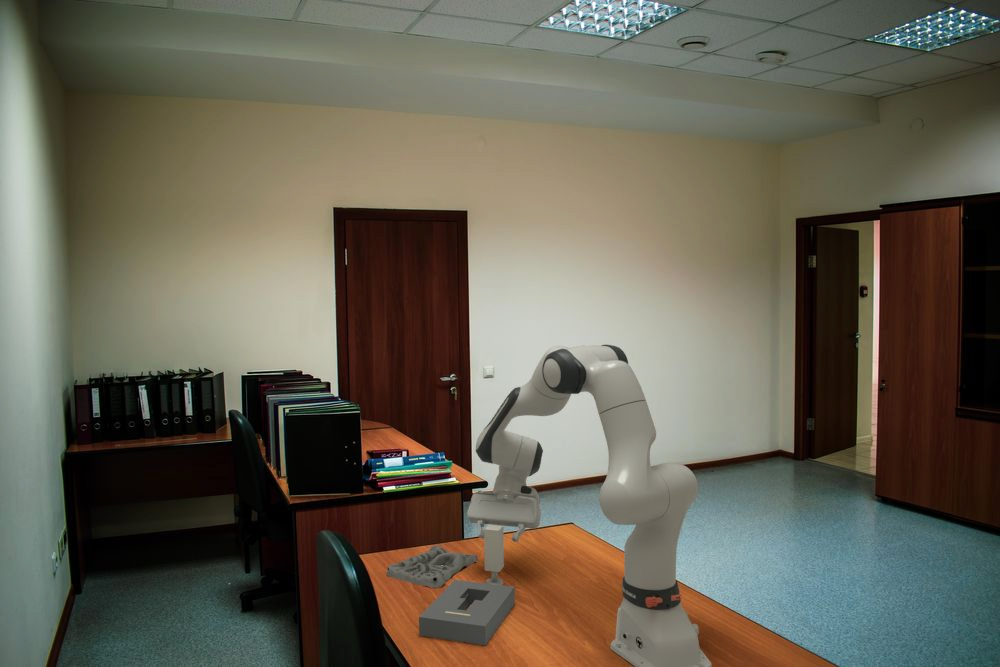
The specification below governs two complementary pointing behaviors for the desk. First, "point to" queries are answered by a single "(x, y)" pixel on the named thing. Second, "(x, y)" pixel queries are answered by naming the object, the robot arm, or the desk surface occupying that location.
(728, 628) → the desk surface
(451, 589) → the keyhole plate
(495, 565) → the post
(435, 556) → the wall plaque
